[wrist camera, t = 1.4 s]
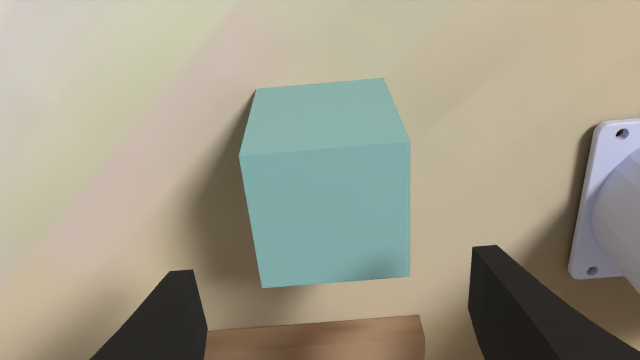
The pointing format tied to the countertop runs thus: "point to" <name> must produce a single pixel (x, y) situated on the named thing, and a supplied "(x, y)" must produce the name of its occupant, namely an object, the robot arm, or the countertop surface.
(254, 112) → the teal block
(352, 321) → the walnut stand
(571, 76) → the countertop surface
